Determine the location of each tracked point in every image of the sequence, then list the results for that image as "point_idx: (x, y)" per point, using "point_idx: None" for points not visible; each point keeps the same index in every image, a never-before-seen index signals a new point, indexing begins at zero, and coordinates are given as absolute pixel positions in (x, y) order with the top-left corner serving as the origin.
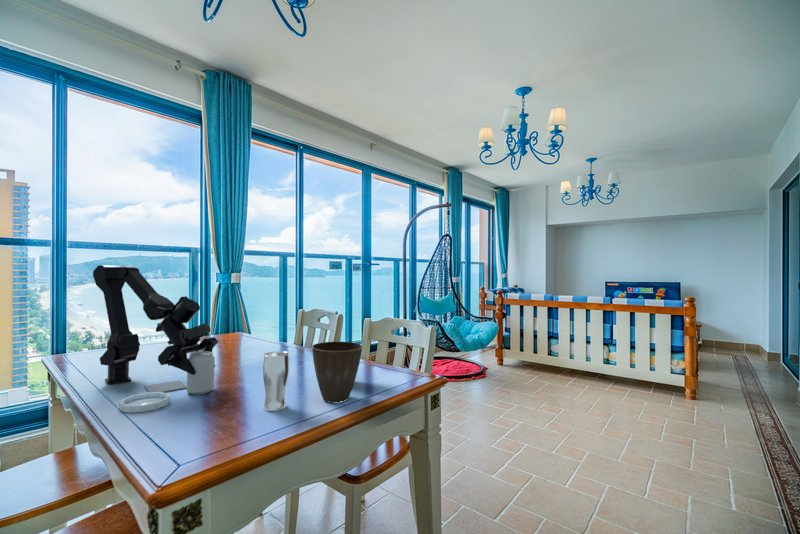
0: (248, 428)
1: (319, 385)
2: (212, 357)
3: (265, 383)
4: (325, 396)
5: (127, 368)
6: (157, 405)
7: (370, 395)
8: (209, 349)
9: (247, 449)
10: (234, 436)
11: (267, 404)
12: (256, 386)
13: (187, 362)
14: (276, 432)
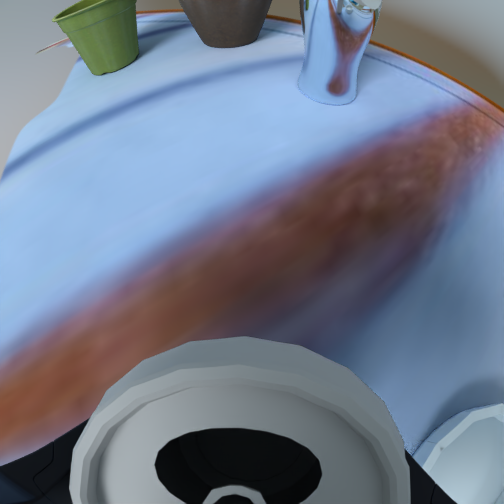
0: (437, 105)
1: (256, 15)
2: (200, 353)
3: (370, 37)
4: (259, 30)
5: None
6: (493, 404)
7: None
8: (6, 496)
9: (471, 95)
10: (467, 115)
11: (356, 82)
12: (127, 214)
13: (437, 495)
14: (417, 73)
